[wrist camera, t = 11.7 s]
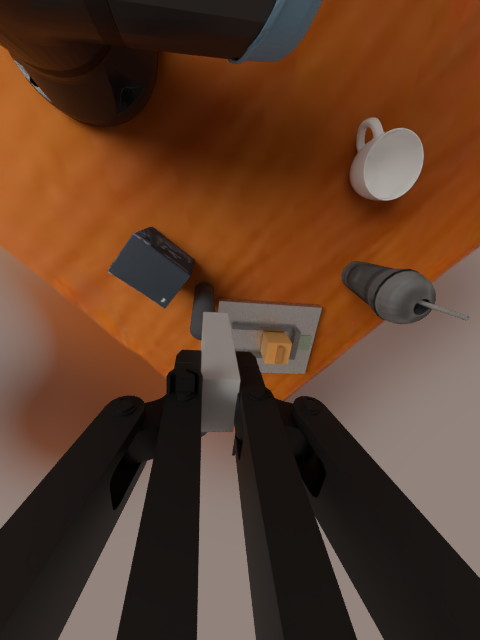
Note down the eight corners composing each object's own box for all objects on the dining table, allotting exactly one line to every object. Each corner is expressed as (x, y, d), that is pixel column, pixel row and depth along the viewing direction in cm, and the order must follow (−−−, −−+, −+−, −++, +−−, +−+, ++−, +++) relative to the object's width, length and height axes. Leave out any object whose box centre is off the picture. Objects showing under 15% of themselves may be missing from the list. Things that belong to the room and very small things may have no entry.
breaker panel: (212, 366, 49) (213, 376, 46) (218, 297, 43) (219, 304, 40) (302, 369, 51) (307, 378, 49) (318, 304, 46) (326, 311, 43)
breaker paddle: (260, 351, 46) (265, 366, 42) (263, 331, 45) (269, 345, 40) (281, 351, 47) (289, 366, 42) (285, 332, 45) (293, 346, 41)
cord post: (194, 299, 42) (189, 339, 30) (195, 281, 41) (190, 316, 29) (212, 300, 43) (215, 340, 30) (213, 283, 42) (217, 317, 29)
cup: (348, 211, 40) (374, 212, 33) (324, 145, 35) (348, 133, 29) (394, 182, 39) (430, 178, 32) (375, 110, 34) (411, 90, 28)
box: (195, 258, 40) (191, 276, 30) (174, 286, 41) (164, 311, 32) (151, 224, 37) (132, 232, 28) (130, 255, 38) (105, 272, 29)
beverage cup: (328, 266, 43) (416, 312, 25) (368, 244, 42) (488, 276, 24) (341, 301, 46) (428, 365, 28) (378, 281, 45) (492, 333, 27)
